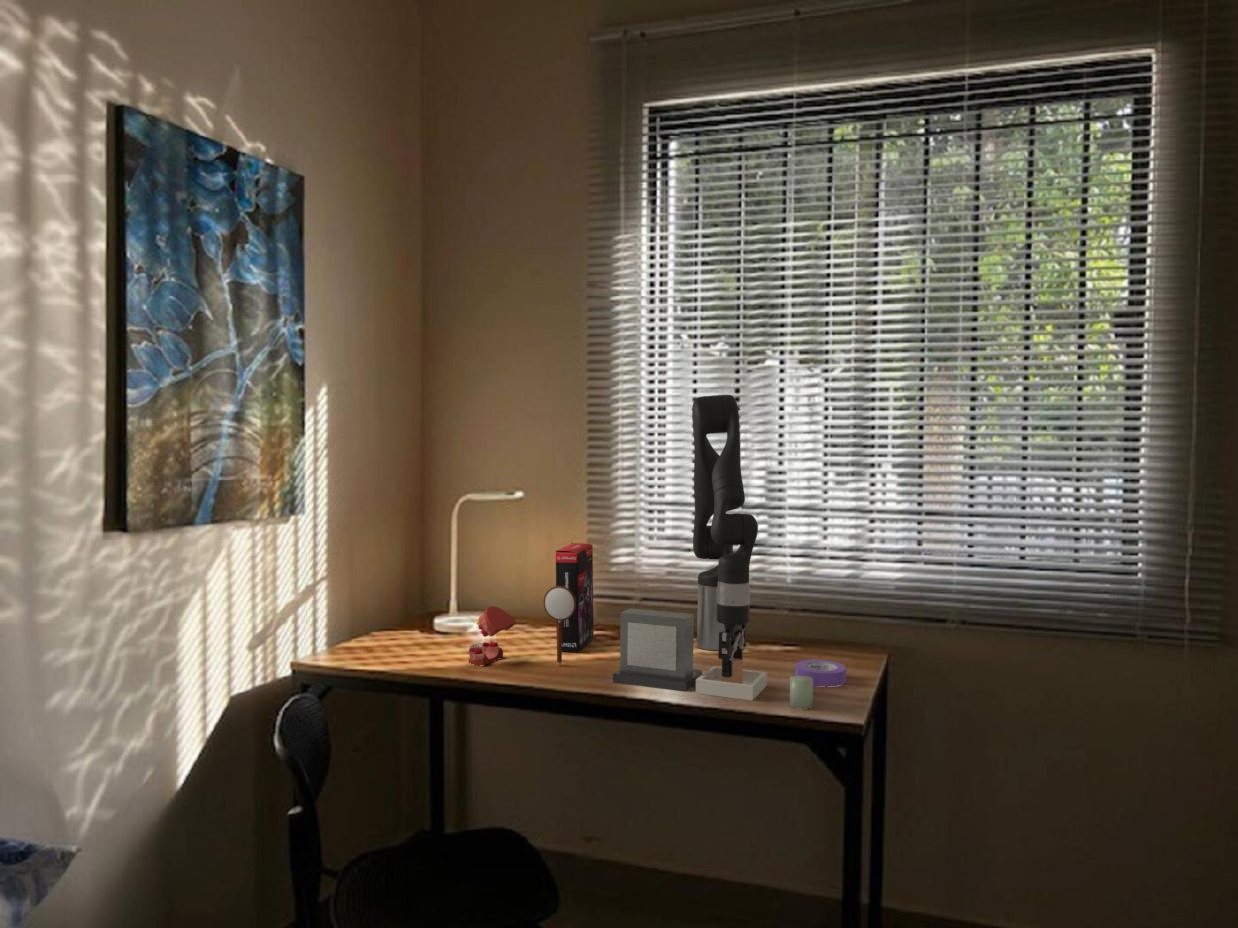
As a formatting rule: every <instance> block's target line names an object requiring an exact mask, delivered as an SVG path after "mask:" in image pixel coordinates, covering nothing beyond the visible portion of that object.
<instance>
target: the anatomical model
mask: <svg viewBox="0 0 1238 928" xmlns="http://www.w3.org/2000/svg"><path fill="white" fill-rule="evenodd" d="M516 623H517V621H516V620H515V619H514V618H513V617H512V616H511V615H510V614H509V613H507V612H506V611H505V610H504V609H502V608H500V607H498V606H493V605H491V606H489V607H487V608H486V609H485V610H484V612H483V614H481V615H479V617H478V618H477V620H476V623H475V624H476V625H477V627H478V629H479V631H480V633H481V634H482V636H483V637H493V636H496V635H497V634H498V633H499V632H501V631H508V630H510V629H511V628H513V627H514V626H515V625H516ZM498 645H499V644H498V642H495V641H490V642H489V641H487V642H486V641H485V642H483V643H481V642H478V643H475V644H470V646H468V650H467V651H468V656H469V658H468V663H469V664H470V663H471V664H470V665H472V664H474V665H473V666H476V665H485V666H487V665H486V664H488V665H490V664H492V663H494V662H493V661H495V660H497V659H499V658H501V659H503V658H504V650H503V648H502V647H501V646H498ZM499 660H500V659H499ZM497 661H498V660H497ZM491 662H492V663H491ZM495 662H496V661H495ZM489 663H490V664H489Z"/></svg>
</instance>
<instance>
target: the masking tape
mask: <svg viewBox="0 0 1238 928" xmlns="http://www.w3.org/2000/svg"><path fill="white" fill-rule="evenodd" d="M794 671H795V672H794V673H795V675H794V676H808V677H811V678H813V686H825V687H828V686H837V685H841V684H843V683H845V682H846V681H847V667H846V666H845V665H844V664H842V663H839V662H836V661H832V660H825V659H807V660H801V661H797V662H796V663H795V670H794ZM846 683H847V682H846Z"/></svg>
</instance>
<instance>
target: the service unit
mask: <svg viewBox="0 0 1238 928" xmlns="http://www.w3.org/2000/svg"><path fill="white" fill-rule="evenodd" d="M694 620H695V615H694V613H687V612H686V613H684V612H674V611H673V612H672V611H665V610H653V609H642V608H641V609H640V608H631V607H630V608H628V609H626V610H624V611H622V612H620V629H619V630H620V632H619V633H620V636H619V637H620V639H619V640H620V641H619V642H620V644H619V645H620V646H619V648H620V649H619V651H620V652H619V669H618V670H616V671H614V672H613V673H612V683H615V684H616V683H617V684H624V685H634V686H640V687H641V686H642V687H648V688H656V689H665V690H672V691H680V692H687V691H688V690H689V689H690V688H692V687H694V686H696V679H697V678H699V677H700V676H701V675H702V674H703V670H702V669H696V668H694V636H695V634H694V632H695V631H694V630H695V629H694V626H695V625H694V624H695V623H694V622H695V621H694Z"/></svg>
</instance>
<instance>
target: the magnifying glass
mask: <svg viewBox="0 0 1238 928" xmlns="http://www.w3.org/2000/svg"><path fill="white" fill-rule="evenodd" d="M543 609H544V610H545V612H546V614H547V615H548V616H549V617H550V618H551V619H552V620H555V621H556V620H558V622H557V623H556V662H557V665H558V666H559V667H560V666H561V665H562V662H563V661H562V660H563V656H562V655H563V652H562V622H561V621H562V620H566V619H568V618H570V617H571V616H572V615H573V613H574V612H575V609H576V599H575V596H574V594H573V593H572V592H571V591H570V590H569V589H568V588H566V587H564V586H556V585H555V586H553V587H551V588H550V589H548V590H547V591H546V593H545V594H544V597H543Z"/></svg>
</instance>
